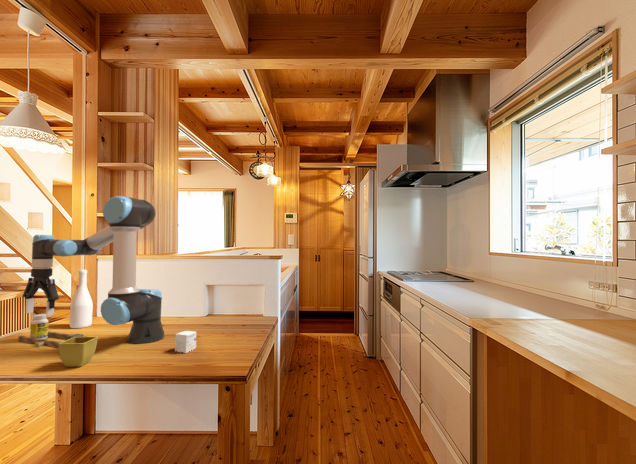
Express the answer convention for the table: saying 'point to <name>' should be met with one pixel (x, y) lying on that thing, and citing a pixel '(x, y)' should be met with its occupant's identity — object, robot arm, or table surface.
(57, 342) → the forked driftwood branch
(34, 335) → the pill bottle
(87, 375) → the table surface
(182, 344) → the skincare box
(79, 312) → the wine bottle
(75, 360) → the flower pot
